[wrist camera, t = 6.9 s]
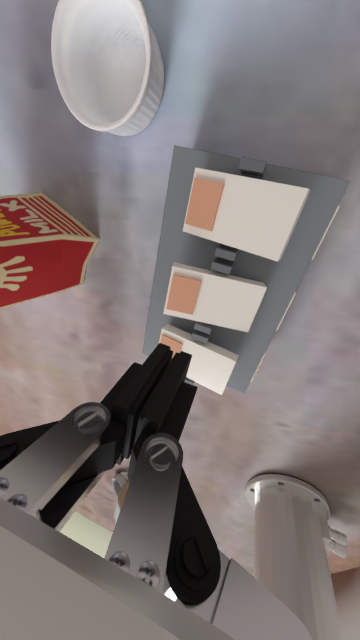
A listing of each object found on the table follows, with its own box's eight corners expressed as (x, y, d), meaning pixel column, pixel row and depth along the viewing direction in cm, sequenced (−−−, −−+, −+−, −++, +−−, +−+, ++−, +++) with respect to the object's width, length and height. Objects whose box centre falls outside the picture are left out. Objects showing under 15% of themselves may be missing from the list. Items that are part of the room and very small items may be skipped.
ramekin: (100, 153, 24) (72, 142, 20) (73, 37, 21) (32, 0, 17) (178, 128, 21) (160, 111, 17) (161, -12, 18) (134, -71, 14)
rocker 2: (310, 191, 14) (308, 188, 13) (280, 259, 17) (277, 262, 16) (202, 170, 17) (194, 166, 16) (189, 230, 20) (181, 231, 19)
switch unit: (336, 187, 19) (370, 177, 13) (249, 368, 30) (246, 410, 23) (190, 157, 22) (162, 136, 15) (157, 334, 32) (132, 364, 26)
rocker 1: (238, 355, 22) (235, 363, 20) (224, 387, 24) (221, 396, 23) (167, 323, 24) (160, 328, 23) (160, 355, 26) (154, 362, 25)
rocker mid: (263, 282, 20) (267, 288, 18) (245, 325, 22) (248, 333, 21) (173, 262, 19) (172, 266, 18) (165, 307, 21) (162, 314, 20)
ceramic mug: (157, 484, 49) (140, 526, 43) (154, 502, 53) (138, 543, 47) (115, 464, 52) (93, 501, 45) (115, 483, 56) (95, 519, 49)
